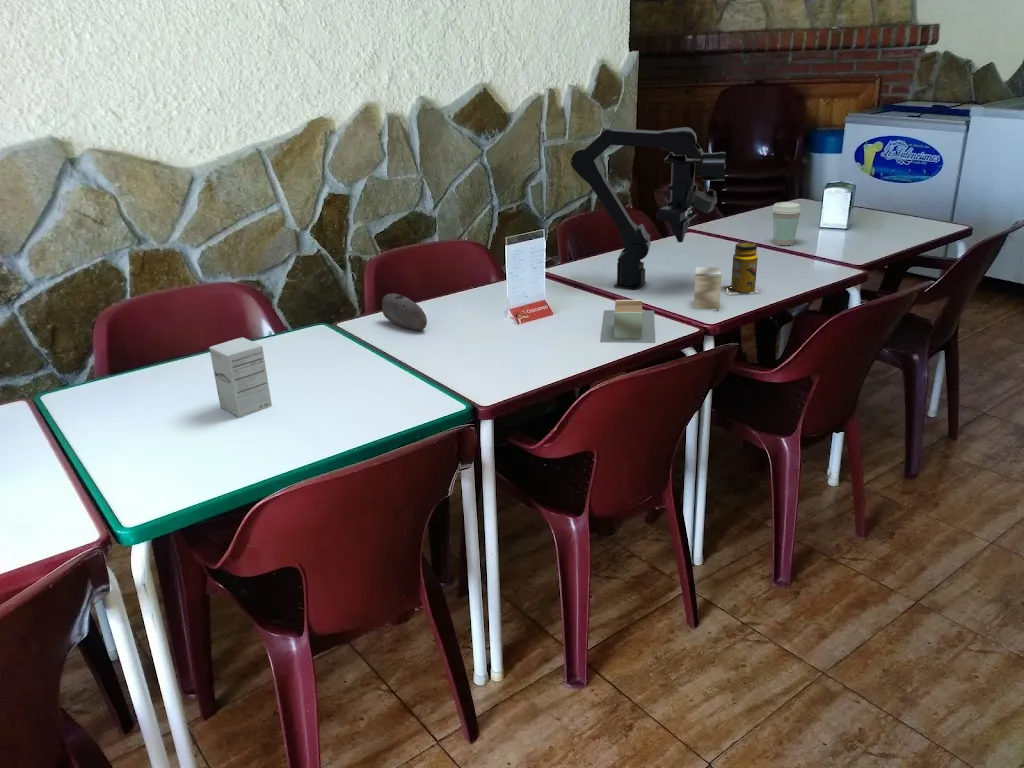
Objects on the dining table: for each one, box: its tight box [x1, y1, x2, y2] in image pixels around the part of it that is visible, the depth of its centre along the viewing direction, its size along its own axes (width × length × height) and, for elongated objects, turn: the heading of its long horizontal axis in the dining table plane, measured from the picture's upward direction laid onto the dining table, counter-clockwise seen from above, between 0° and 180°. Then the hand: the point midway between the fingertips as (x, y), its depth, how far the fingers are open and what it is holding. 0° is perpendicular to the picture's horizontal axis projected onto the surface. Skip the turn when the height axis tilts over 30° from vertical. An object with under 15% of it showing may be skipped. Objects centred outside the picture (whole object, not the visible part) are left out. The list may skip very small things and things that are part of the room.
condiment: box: [720, 241, 761, 296], centre depth 217 cm, size 7×8×12 cm
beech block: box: [693, 266, 722, 311], centre depth 206 cm, size 6×6×9 cm
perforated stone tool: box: [381, 292, 428, 331], centre depth 202 cm, size 15×5×7 cm, turn 40°
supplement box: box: [208, 336, 273, 418], centre depth 161 cm, size 7×7×13 cm
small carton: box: [614, 299, 643, 339], centre depth 191 cm, size 6×6×9 cm
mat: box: [599, 309, 656, 344], centre depth 196 cm, size 22×12×1 cm, turn 172°
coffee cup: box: [771, 201, 802, 247], centre depth 257 cm, size 9×9×12 cm
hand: (680, 242), depth 219 cm, fingers closed
